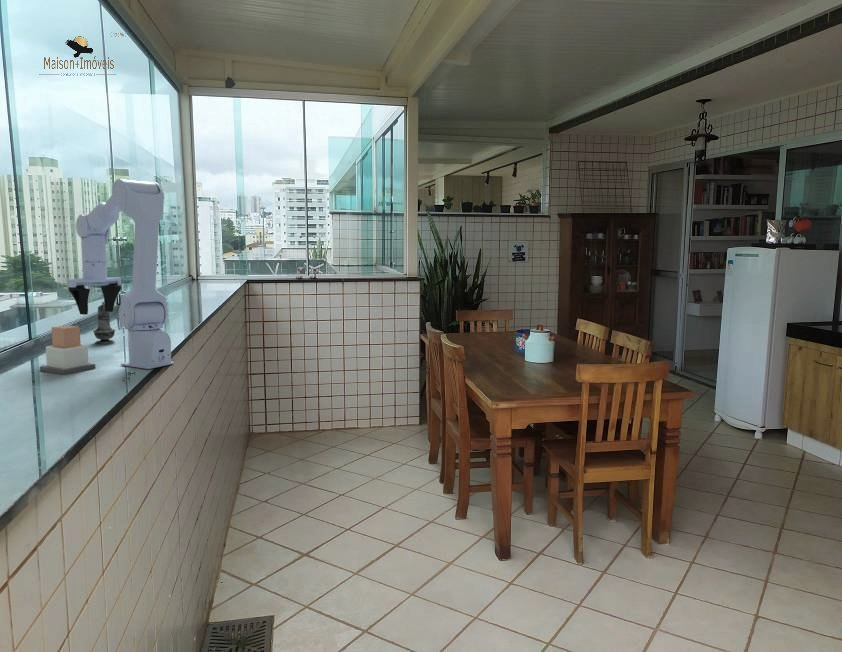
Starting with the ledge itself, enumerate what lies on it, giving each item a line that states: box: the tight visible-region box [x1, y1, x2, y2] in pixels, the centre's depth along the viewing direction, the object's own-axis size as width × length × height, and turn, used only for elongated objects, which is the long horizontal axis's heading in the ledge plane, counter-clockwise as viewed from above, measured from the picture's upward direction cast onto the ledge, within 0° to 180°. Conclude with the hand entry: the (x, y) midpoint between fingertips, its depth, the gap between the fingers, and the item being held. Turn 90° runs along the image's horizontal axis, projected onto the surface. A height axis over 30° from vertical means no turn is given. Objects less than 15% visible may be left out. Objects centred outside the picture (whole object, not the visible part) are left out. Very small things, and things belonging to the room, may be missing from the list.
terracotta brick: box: [51, 325, 81, 348], centre depth 141 cm, size 4×4×5 cm
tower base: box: [39, 344, 97, 376], centre depth 142 cm, size 8×8×6 cm
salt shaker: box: [92, 301, 116, 345], centre depth 177 cm, size 6×6×12 cm
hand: (96, 312), depth 164 cm, fingers open, 7 cm apart
